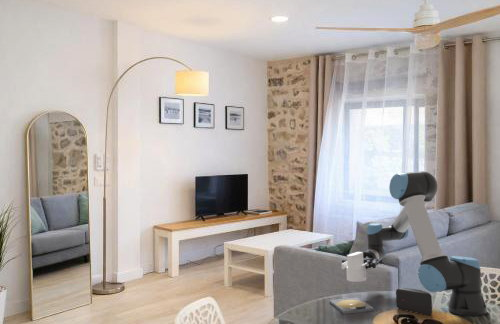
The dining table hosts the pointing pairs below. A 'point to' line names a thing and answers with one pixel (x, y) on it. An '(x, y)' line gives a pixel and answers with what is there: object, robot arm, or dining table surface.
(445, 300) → the dining table surface
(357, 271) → the base with upright slab
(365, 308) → the plate
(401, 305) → the black two-tone rounded device
